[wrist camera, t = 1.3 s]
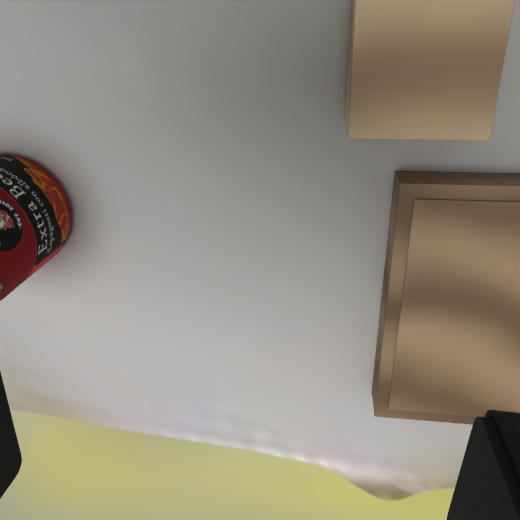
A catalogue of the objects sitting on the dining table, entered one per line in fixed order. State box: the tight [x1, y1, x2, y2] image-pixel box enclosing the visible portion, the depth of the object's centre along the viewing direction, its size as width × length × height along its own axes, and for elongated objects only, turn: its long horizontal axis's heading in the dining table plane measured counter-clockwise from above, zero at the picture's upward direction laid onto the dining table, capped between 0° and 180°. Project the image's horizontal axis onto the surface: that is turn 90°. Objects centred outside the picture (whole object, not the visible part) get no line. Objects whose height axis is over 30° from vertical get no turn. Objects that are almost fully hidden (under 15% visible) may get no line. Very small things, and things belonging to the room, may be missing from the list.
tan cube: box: [345, 0, 515, 140], centre depth 23 cm, size 6×6×6 cm
